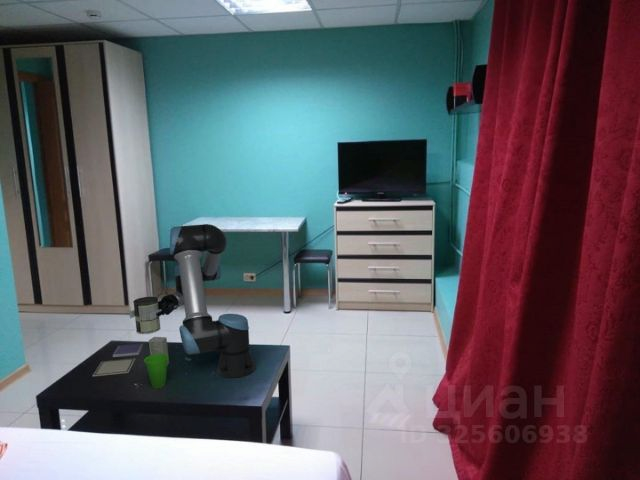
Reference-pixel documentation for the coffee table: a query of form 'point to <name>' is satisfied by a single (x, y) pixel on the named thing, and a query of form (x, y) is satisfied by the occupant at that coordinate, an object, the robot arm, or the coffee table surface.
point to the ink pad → (128, 350)
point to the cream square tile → (114, 367)
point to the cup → (157, 369)
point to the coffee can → (146, 315)
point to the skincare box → (158, 346)
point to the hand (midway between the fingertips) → (140, 316)
